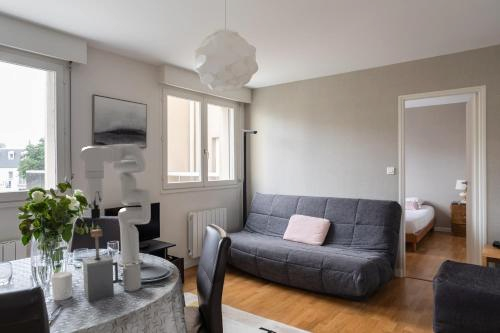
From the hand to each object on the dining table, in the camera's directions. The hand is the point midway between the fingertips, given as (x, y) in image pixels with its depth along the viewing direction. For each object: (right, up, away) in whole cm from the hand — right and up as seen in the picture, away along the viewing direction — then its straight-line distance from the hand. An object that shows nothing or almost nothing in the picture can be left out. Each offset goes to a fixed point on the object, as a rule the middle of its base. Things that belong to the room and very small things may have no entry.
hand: (95, 218), depth 143 cm
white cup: (-14, -34, 0) cm, 37 cm away
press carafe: (+2, -34, +2) cm, 34 cm away
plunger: (0, -20, +1) cm, 20 cm away
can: (+13, -34, +8) cm, 37 cm away
